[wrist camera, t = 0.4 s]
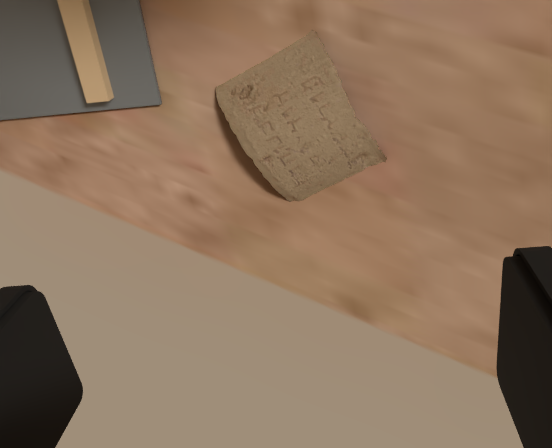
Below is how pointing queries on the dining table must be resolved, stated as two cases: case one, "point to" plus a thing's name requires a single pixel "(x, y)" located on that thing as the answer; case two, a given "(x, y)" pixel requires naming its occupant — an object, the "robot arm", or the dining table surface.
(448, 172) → the dining table surface
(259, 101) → the clay tablet
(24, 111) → the mat
